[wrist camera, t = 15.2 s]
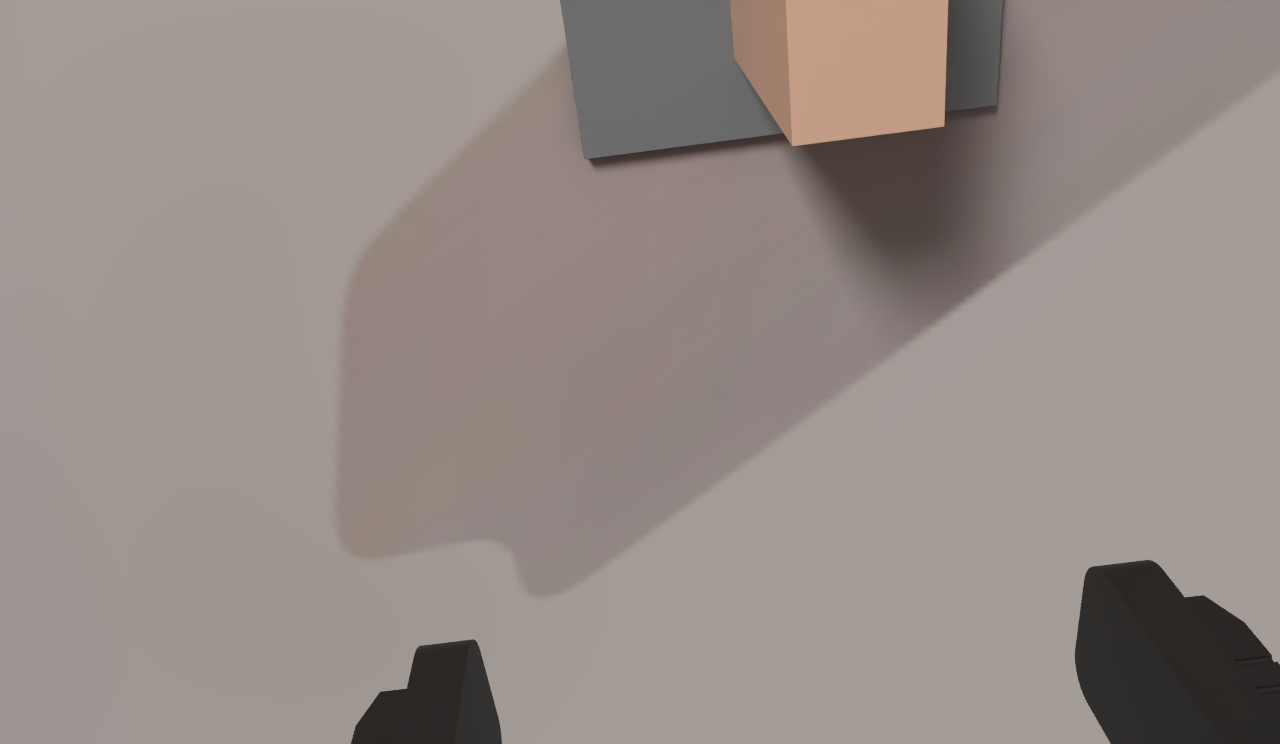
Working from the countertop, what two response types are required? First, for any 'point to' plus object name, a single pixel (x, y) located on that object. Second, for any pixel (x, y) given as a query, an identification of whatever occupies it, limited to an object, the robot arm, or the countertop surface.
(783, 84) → the salmon pink block
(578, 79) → the mat
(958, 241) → the countertop surface
